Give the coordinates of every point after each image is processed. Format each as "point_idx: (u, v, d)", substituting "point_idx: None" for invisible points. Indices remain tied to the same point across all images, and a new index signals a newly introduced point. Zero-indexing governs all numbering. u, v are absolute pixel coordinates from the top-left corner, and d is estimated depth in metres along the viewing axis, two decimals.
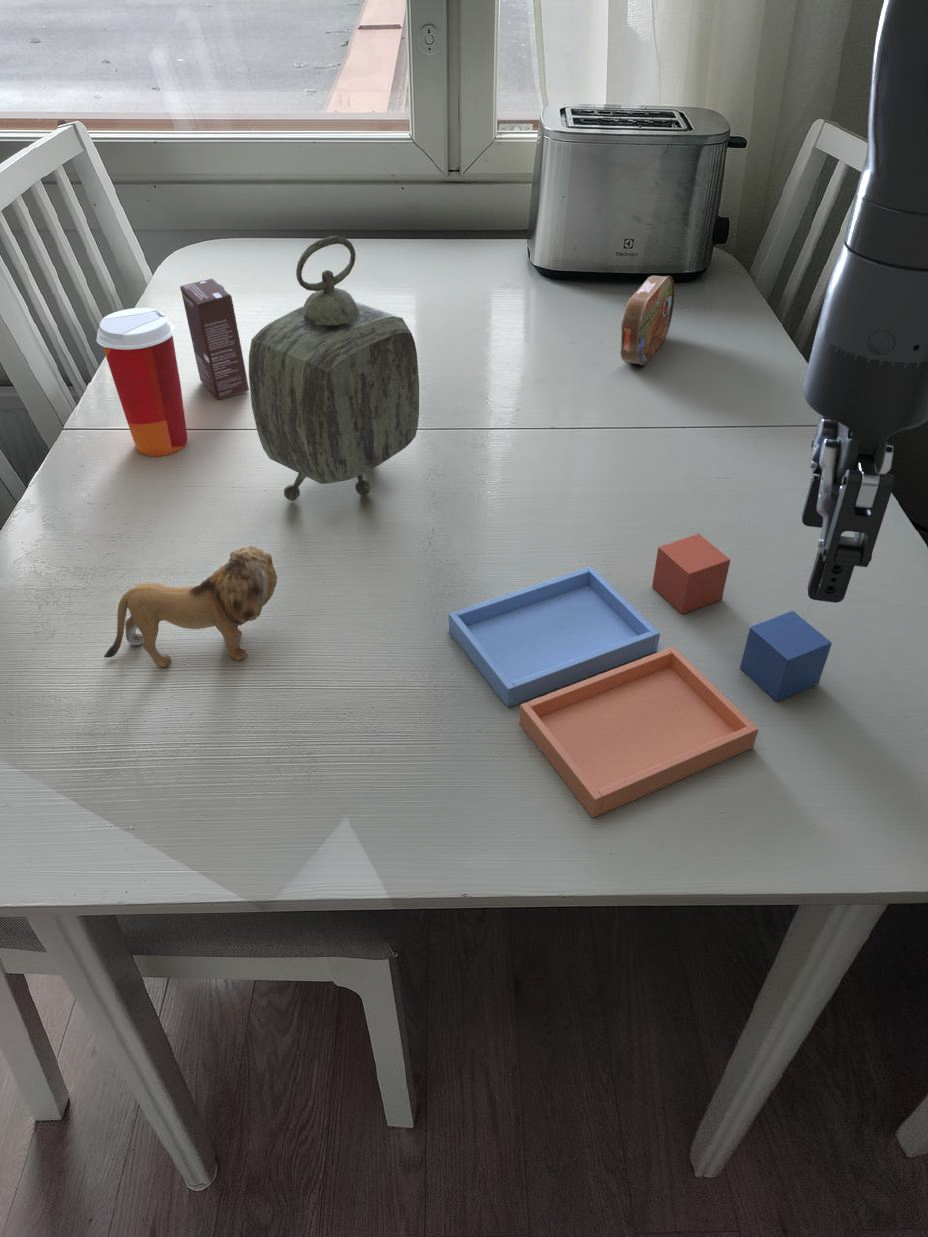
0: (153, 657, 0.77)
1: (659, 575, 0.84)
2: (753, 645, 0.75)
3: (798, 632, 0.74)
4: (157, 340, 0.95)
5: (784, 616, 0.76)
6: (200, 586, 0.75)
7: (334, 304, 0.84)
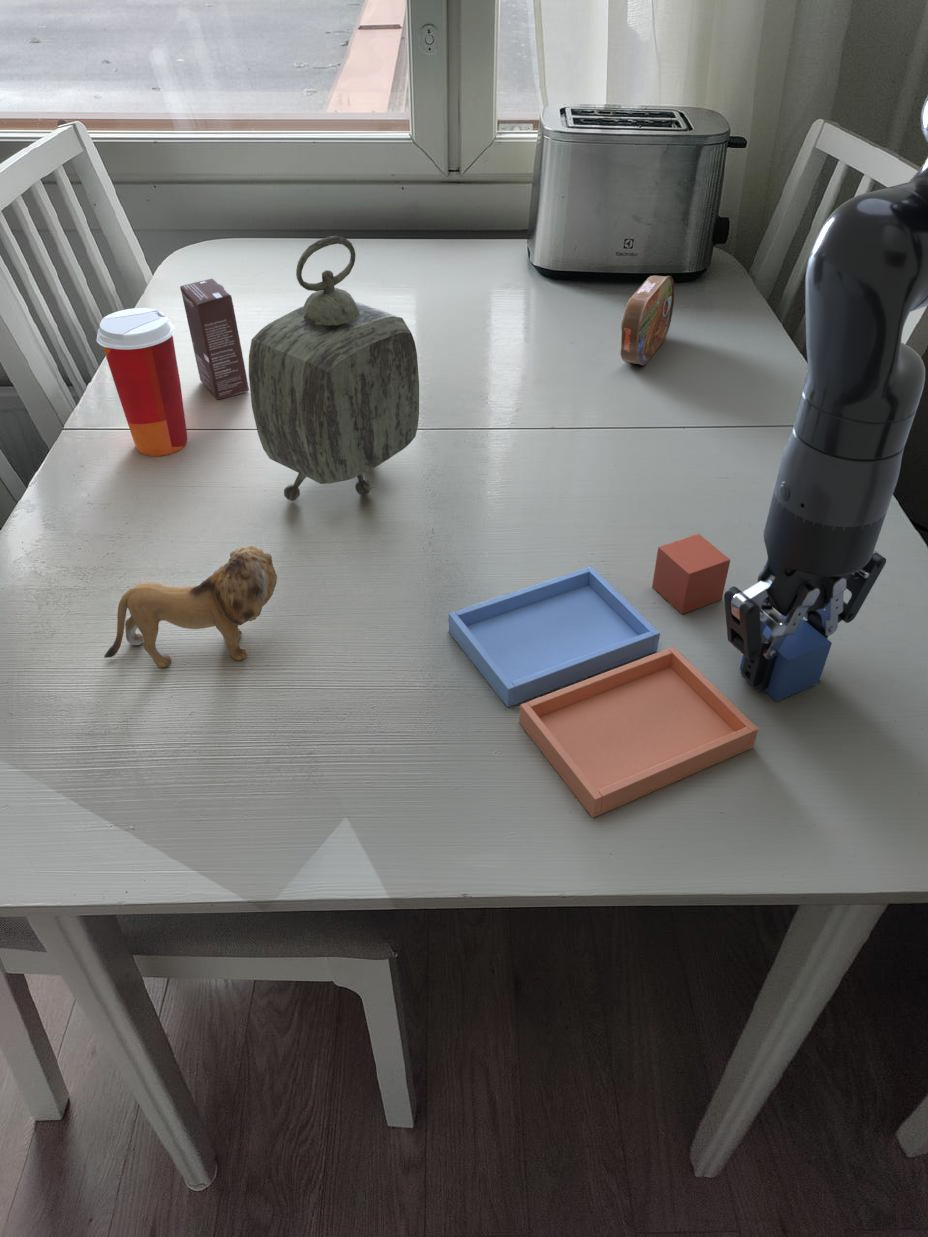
0: (153, 657, 0.77)
1: (659, 575, 0.84)
2: None
3: (798, 632, 0.74)
4: (157, 340, 0.95)
5: (784, 616, 0.76)
6: (200, 586, 0.75)
7: (334, 304, 0.84)
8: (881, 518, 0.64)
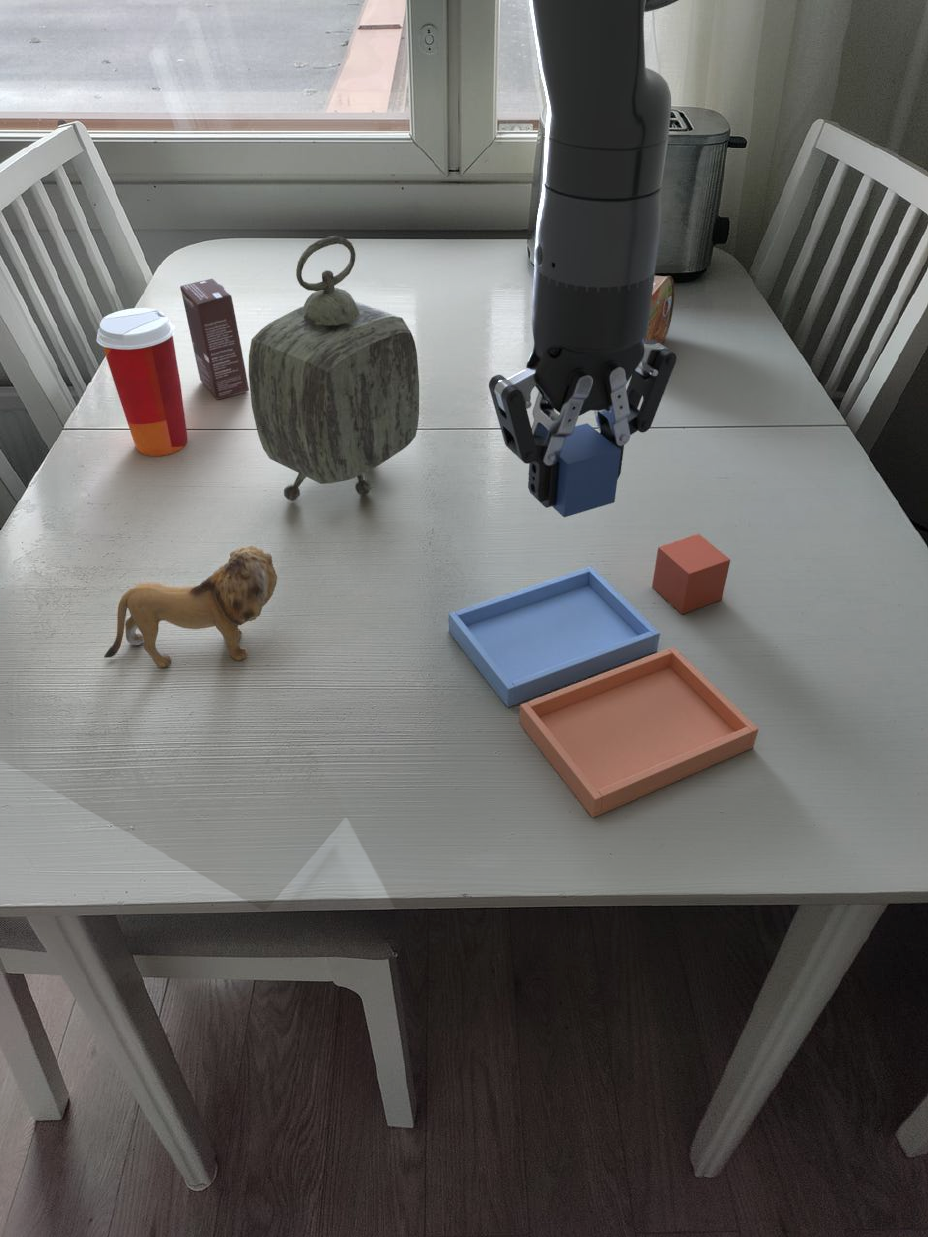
0: (153, 657, 0.77)
1: (659, 575, 0.84)
2: None
3: (587, 441, 0.68)
4: (157, 340, 0.95)
5: (576, 427, 0.70)
6: (200, 586, 0.75)
7: (334, 304, 0.84)
8: (642, 281, 0.58)
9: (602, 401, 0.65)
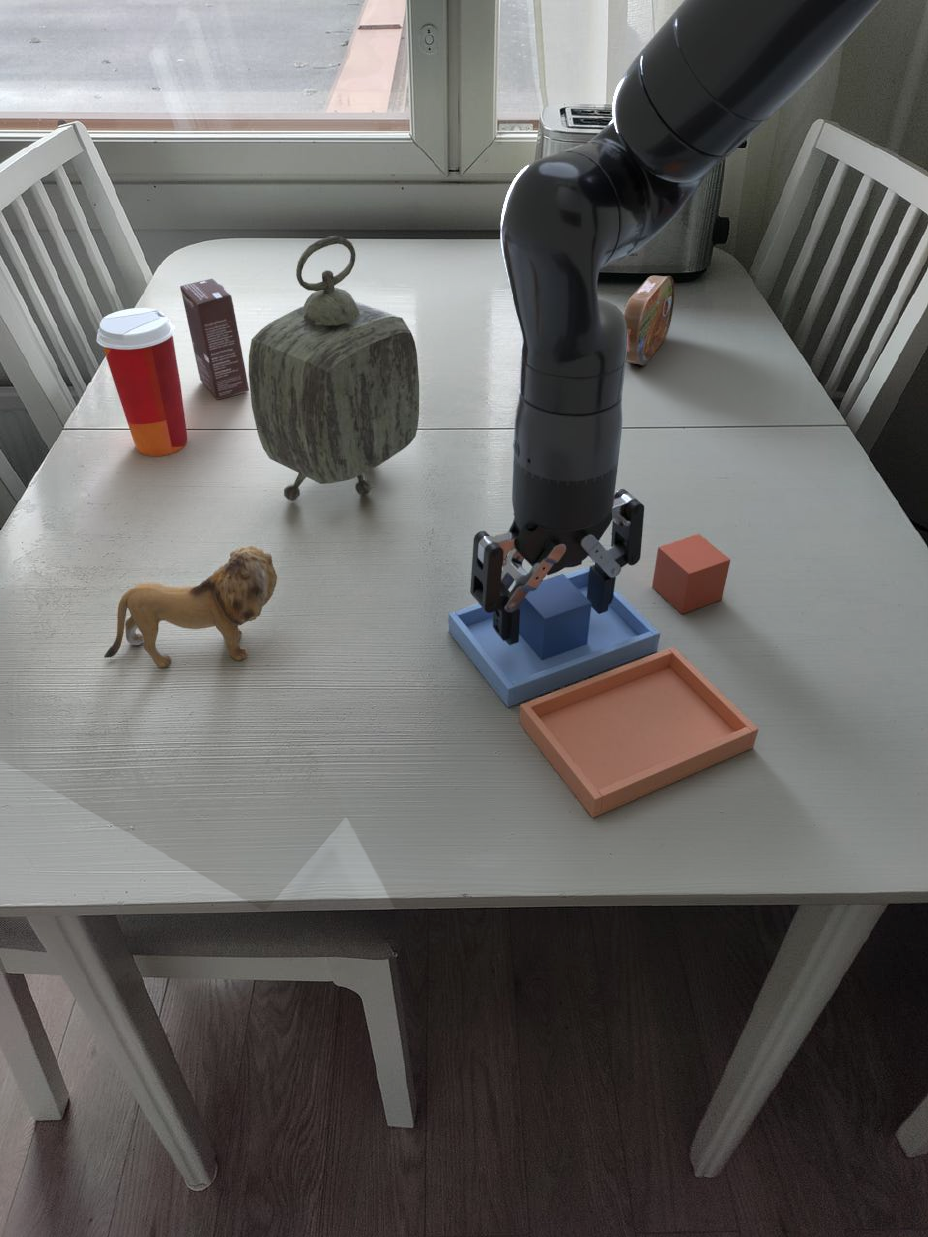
0: (153, 657, 0.77)
1: (659, 575, 0.84)
2: (521, 606, 0.78)
3: (562, 594, 0.77)
4: (157, 340, 0.95)
5: (553, 579, 0.79)
6: (200, 586, 0.75)
7: (334, 304, 0.84)
8: (606, 473, 0.67)
9: (584, 557, 0.74)
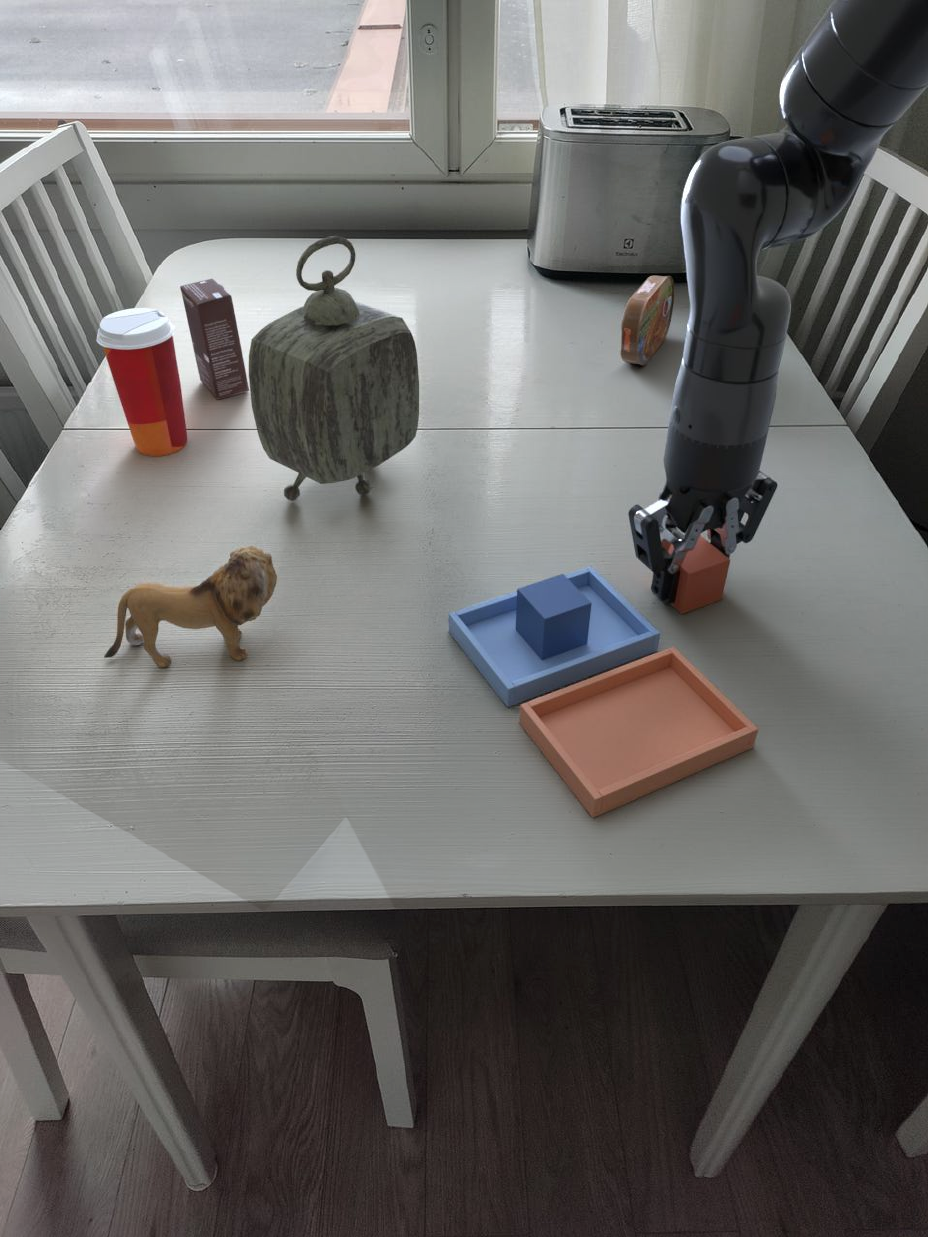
0: (153, 657, 0.77)
1: None
2: (521, 606, 0.78)
3: (562, 594, 0.77)
4: (157, 340, 0.95)
5: (553, 579, 0.79)
6: (200, 586, 0.75)
7: (334, 304, 0.84)
8: (761, 438, 0.72)
9: (717, 522, 0.79)
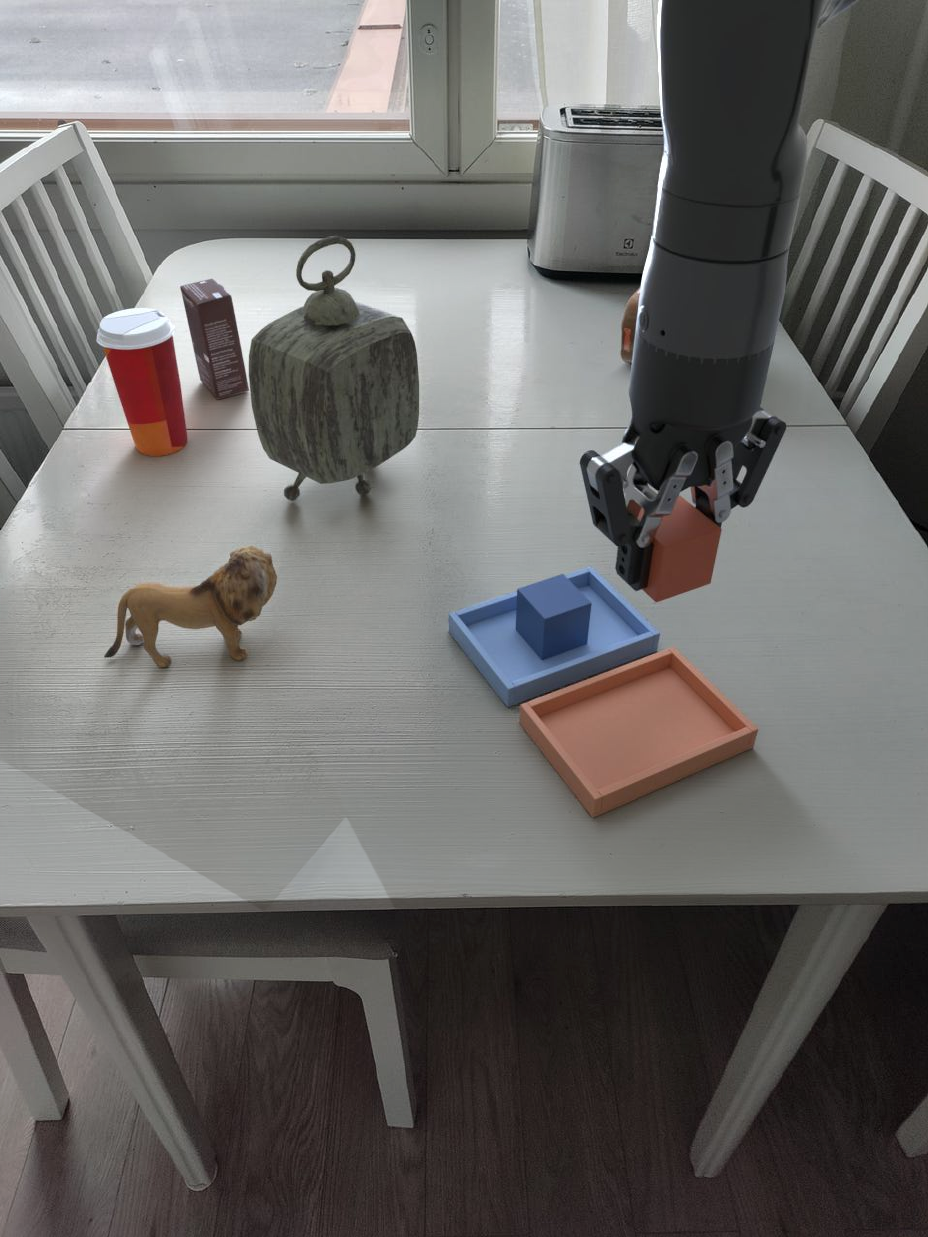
0: (153, 657, 0.77)
1: None
2: (521, 606, 0.78)
3: (562, 594, 0.77)
4: (157, 340, 0.95)
5: (553, 579, 0.79)
6: (200, 586, 0.75)
7: (334, 304, 0.84)
8: (763, 350, 0.51)
9: (704, 476, 0.58)
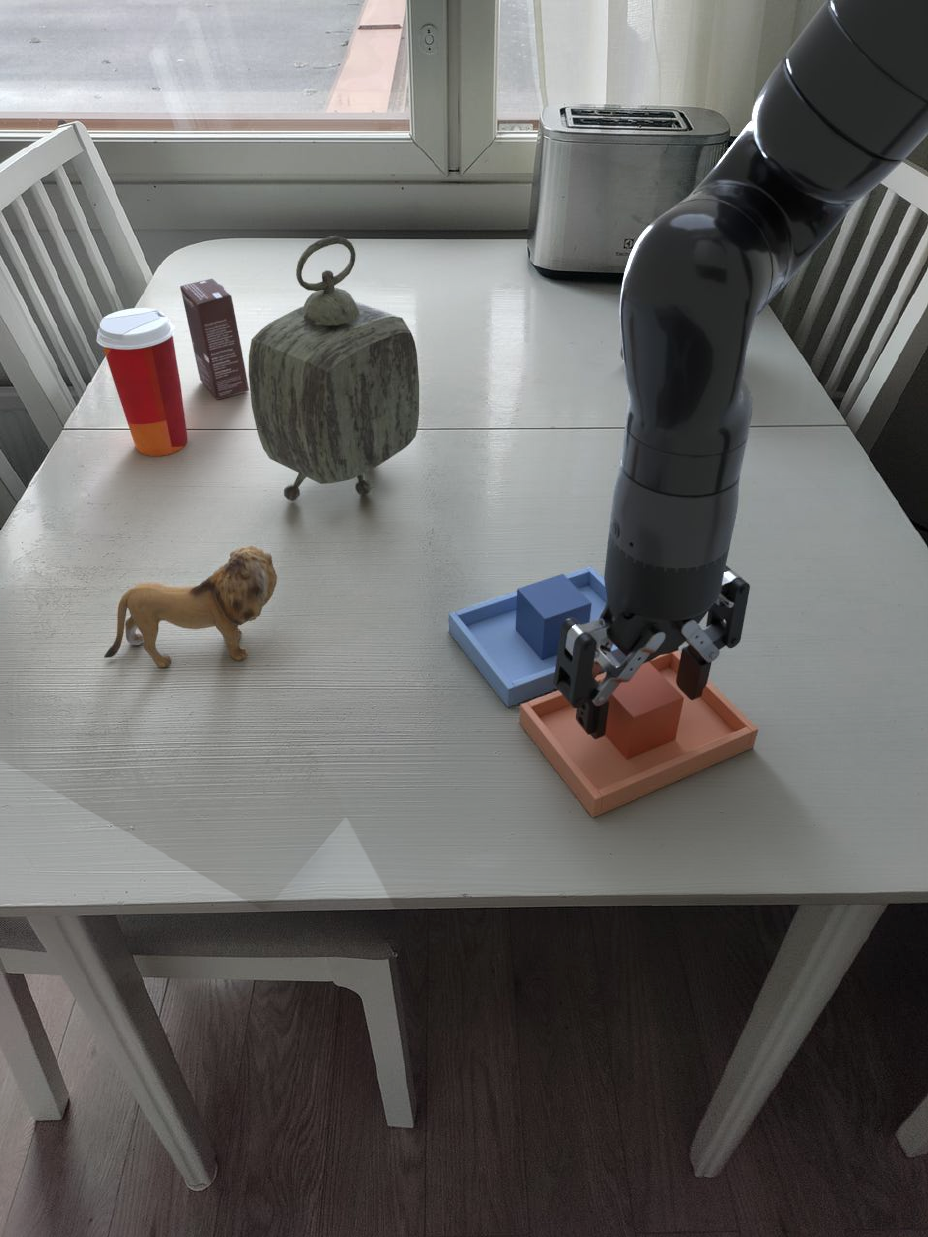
0: (153, 657, 0.77)
1: None
2: (521, 606, 0.78)
3: (562, 594, 0.77)
4: (157, 340, 0.95)
5: (553, 579, 0.79)
6: (200, 586, 0.75)
7: (334, 304, 0.84)
8: (719, 558, 0.58)
9: (681, 643, 0.66)
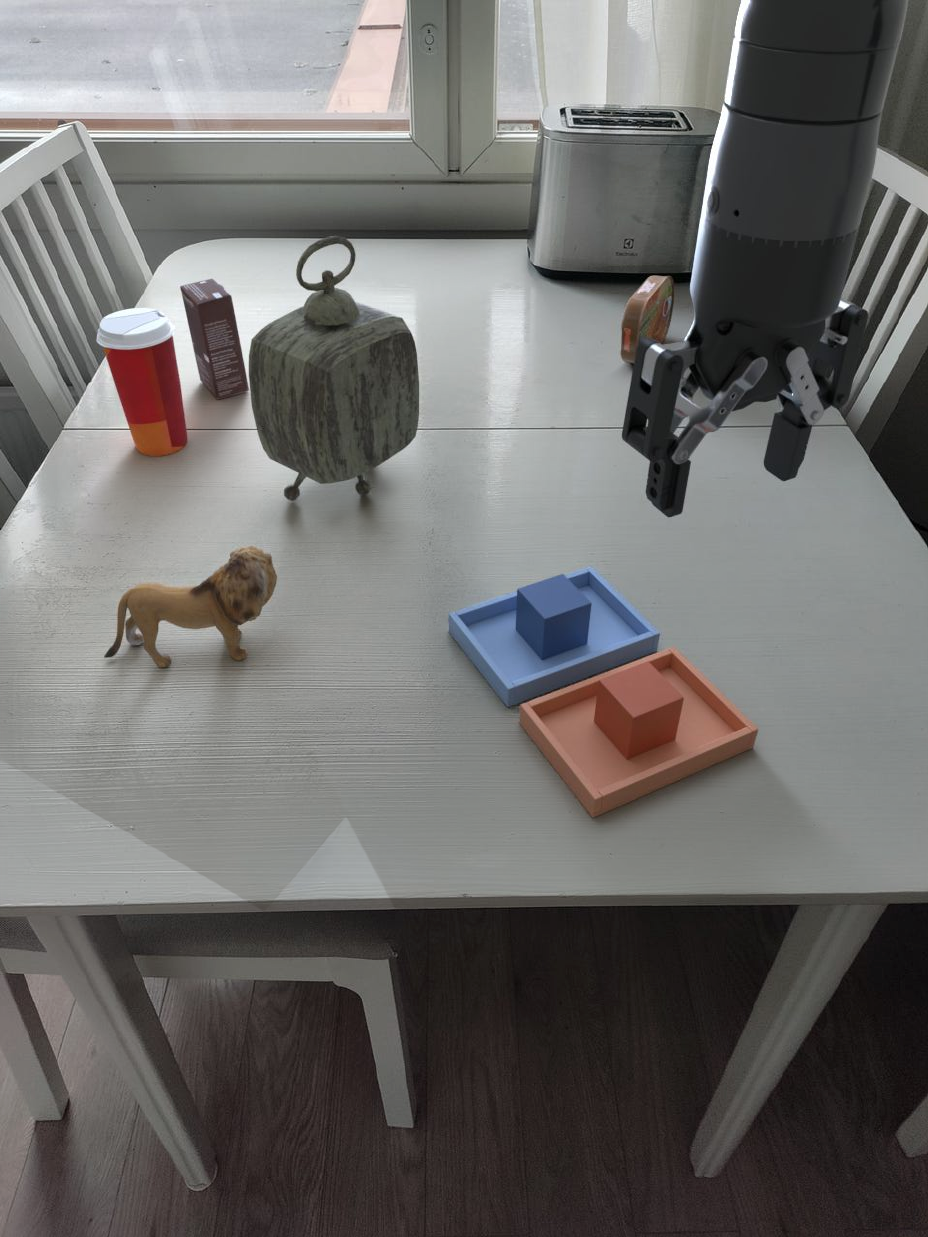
0: (153, 657, 0.77)
1: (601, 711, 0.71)
2: (521, 606, 0.78)
3: (562, 594, 0.77)
4: (157, 340, 0.95)
5: (553, 579, 0.79)
6: (200, 586, 0.75)
7: (334, 304, 0.84)
8: (849, 233, 0.45)
9: (781, 387, 0.53)
